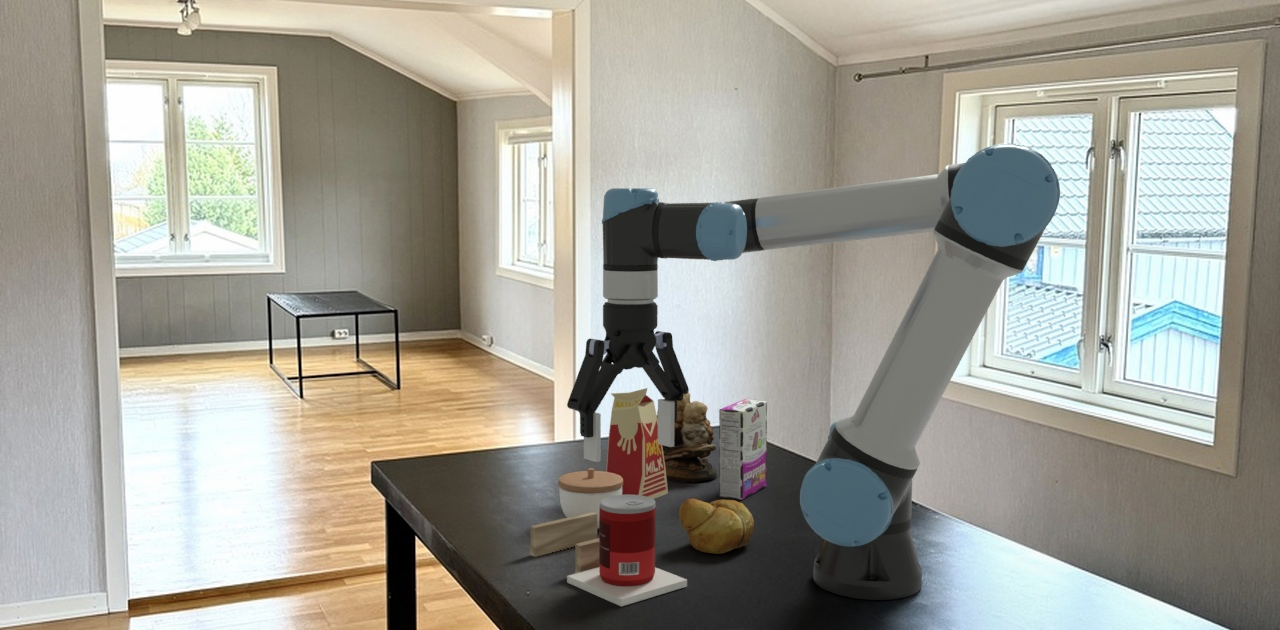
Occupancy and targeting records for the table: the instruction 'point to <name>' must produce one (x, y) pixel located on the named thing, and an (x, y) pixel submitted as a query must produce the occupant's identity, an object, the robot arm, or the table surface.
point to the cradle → (568, 539)
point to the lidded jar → (587, 491)
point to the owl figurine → (690, 444)
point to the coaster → (626, 594)
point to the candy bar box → (743, 448)
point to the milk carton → (636, 445)
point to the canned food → (627, 539)
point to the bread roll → (716, 524)
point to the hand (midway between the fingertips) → (630, 452)
